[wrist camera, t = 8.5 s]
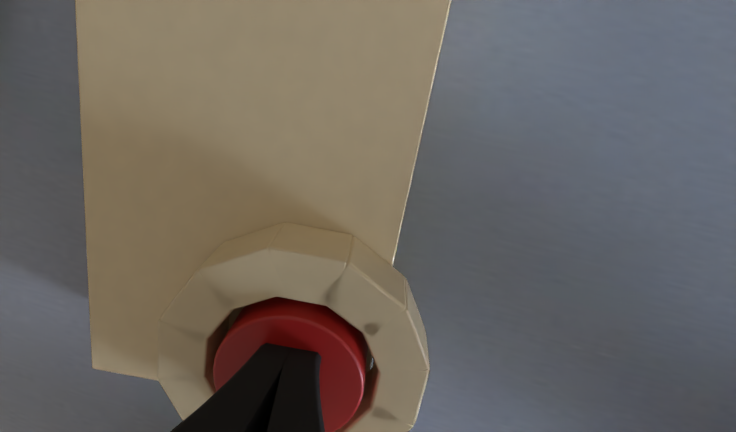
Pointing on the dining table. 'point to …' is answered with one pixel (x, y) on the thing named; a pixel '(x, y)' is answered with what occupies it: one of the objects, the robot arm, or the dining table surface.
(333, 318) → the button
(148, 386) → the dining table surface
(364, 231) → the control block
